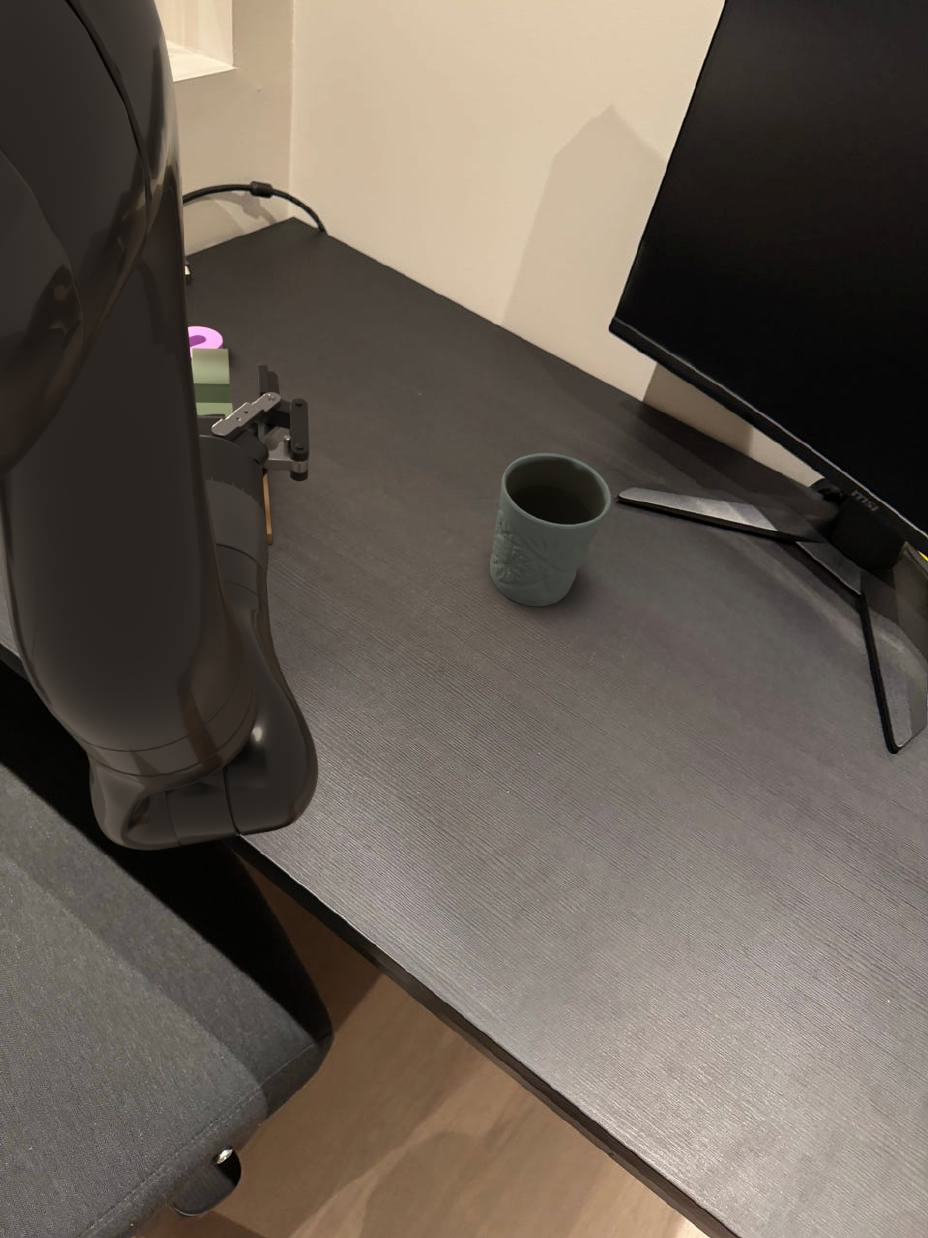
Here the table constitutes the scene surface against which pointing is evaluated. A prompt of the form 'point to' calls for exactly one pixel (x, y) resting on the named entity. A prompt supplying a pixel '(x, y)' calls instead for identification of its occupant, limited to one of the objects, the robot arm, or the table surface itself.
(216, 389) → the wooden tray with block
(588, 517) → the grey green embossed cup
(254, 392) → the table surface
